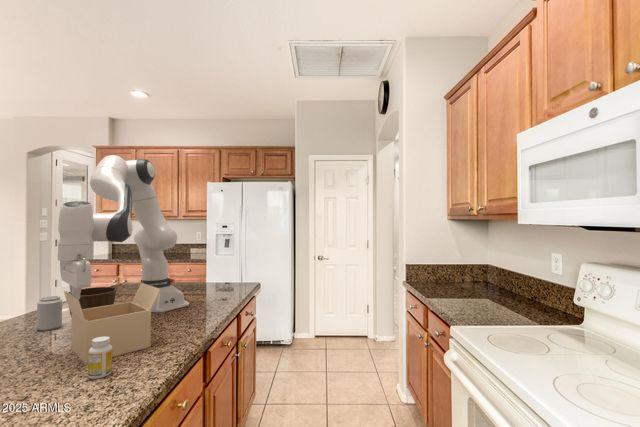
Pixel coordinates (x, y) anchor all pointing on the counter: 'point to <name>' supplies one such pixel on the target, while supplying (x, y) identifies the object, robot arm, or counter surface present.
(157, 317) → the counter surface
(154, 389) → the counter surface
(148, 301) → the flap
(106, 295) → the plant pot
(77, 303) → the flap
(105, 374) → the supplement bottle
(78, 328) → the carton
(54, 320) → the can
